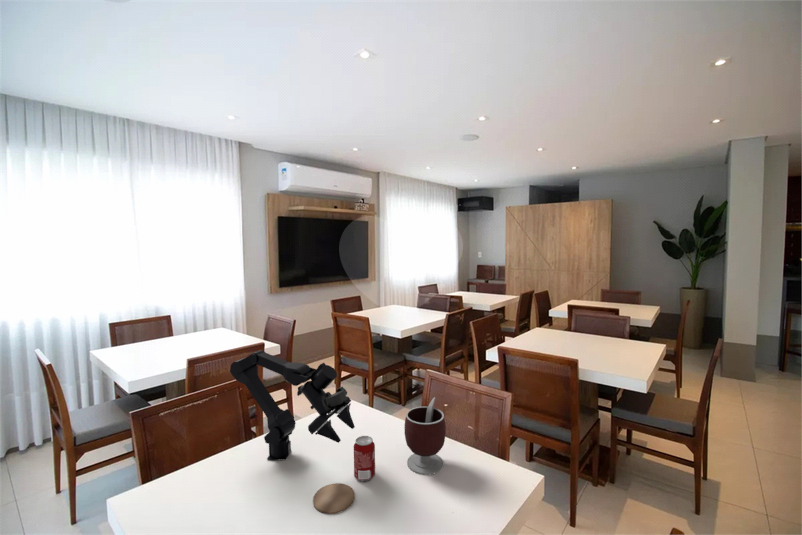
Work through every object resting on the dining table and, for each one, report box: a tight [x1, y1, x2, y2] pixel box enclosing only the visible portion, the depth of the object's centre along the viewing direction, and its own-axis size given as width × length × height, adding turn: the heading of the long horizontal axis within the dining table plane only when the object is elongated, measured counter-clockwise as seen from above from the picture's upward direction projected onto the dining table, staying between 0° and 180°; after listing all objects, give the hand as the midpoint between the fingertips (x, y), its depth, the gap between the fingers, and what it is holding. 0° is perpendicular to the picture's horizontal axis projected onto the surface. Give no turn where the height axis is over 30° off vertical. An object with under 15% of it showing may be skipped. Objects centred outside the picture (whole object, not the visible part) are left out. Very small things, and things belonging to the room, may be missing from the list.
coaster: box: [312, 482, 356, 515], centre depth 108 cm, size 12×12×1 cm
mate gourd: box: [404, 396, 447, 476], centre depth 126 cm, size 16×14×20 cm
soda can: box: [353, 435, 376, 482], centre depth 119 cm, size 7×7×12 cm
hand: (346, 434), depth 120 cm, fingers open, 9 cm apart
